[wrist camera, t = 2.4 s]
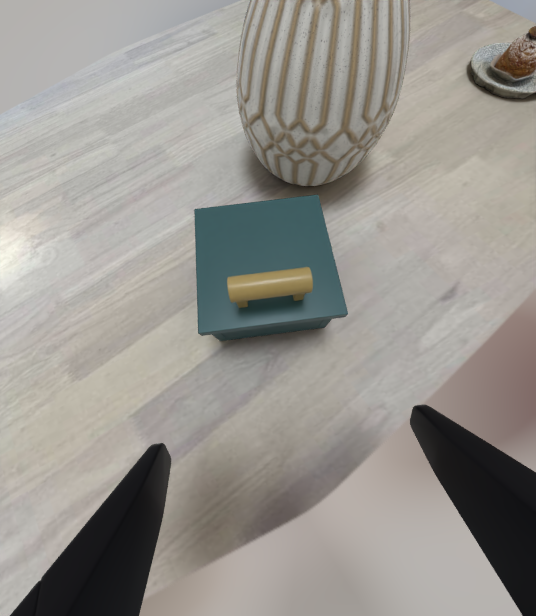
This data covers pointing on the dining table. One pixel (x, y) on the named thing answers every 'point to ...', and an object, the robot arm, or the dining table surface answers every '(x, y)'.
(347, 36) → the vase
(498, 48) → the pastry
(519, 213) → the dining table surface
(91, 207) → the dining table surface
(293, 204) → the box lid
